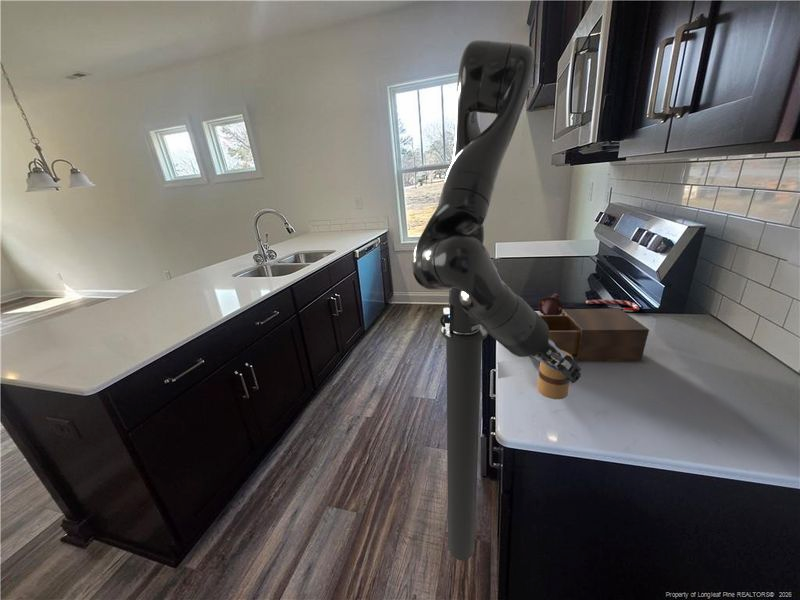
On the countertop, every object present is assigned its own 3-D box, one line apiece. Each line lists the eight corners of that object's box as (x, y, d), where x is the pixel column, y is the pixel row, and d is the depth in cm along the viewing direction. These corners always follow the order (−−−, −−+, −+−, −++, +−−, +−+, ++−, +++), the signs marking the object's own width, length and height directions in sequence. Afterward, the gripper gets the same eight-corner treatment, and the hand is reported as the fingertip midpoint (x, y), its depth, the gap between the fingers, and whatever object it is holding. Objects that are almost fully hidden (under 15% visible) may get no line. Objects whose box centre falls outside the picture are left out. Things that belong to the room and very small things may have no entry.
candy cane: (585, 297, 112) (636, 300, 106) (584, 300, 112) (635, 304, 107) (587, 305, 105) (642, 309, 99) (587, 308, 106) (641, 313, 100)
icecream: (564, 308, 92) (569, 295, 104) (539, 298, 95) (547, 287, 107) (555, 328, 95) (561, 314, 107) (530, 318, 98) (539, 305, 110)
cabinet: (577, 361, 78) (582, 330, 74) (558, 337, 89) (562, 309, 86) (641, 361, 76) (649, 329, 73) (613, 336, 88) (619, 308, 84)
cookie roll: (541, 399, 57) (546, 364, 54) (533, 381, 62) (537, 348, 59) (572, 400, 57) (579, 364, 54) (561, 382, 61) (567, 348, 59)
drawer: (512, 356, 80) (514, 332, 77) (502, 335, 90) (504, 313, 88) (586, 356, 78) (590, 332, 75) (568, 335, 88) (571, 312, 86)
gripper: (563, 323, 44) (612, 374, 52) (500, 291, 57) (547, 336, 64) (528, 364, 44) (582, 409, 52) (474, 323, 57) (523, 365, 65)
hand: (562, 369), depth 58 cm, fingers closed on cookie roll, 5 cm apart
